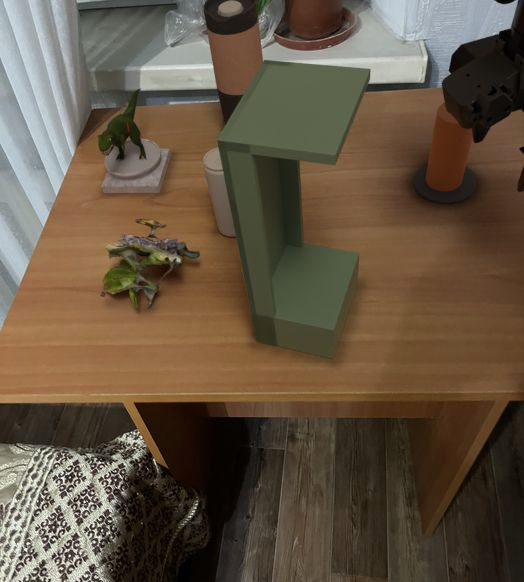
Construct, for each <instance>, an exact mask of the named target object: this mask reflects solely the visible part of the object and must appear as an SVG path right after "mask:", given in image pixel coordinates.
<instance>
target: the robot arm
mask: <svg viewBox="0 0 524 582" xmlns="http://www.w3.org/2000/svg"><path fill="white" fill-rule="evenodd" d="M493 1H494V2H496V3H498V4H500V5H509V4H512V3H514V2H516V0H493ZM448 72H449V73H450V74H448V75H447V76H446V77H444V78H443V79H442V81H441V89H442V95H443V100H444V103H445V107H446V110H447V111H448V113H450V114H451V115H452V116H453V117H454V118H455V119H456V120H457V121H458V123H459V125H460V126H461V127H462V128H464V129H471V128H472V135H473V139H472V143H474V144H479V143H481V142H483V141H484V139H486V136H487V135H488V133H489V131H490V129H491V127H493V126H495V125H496V124H498V123H500V122H501V121H503V120H505V119H506V118H508V117H509V116H510V115H511V114H512V113H514V112H518V111H520V110H521V111H522V112H523V113H524V0H517V4H516V7H515V10H514V14H513V17H512V21H511V24H510V28H507V29H506V28H505V29H503V30H499V32H498V33H497V34H492V35H489V36H485V37H482V38H479V39H475V40H472V41H469V42H463V43H461V44H460V45H459V46H458V47H457V48H456V49H455V50H454V52H452V54H451V57H450V62H449V67H448ZM518 150H519V151H520V152H521V153H522V154H523V155H524V146H520V147H519V148H518ZM516 191H517V192H518V193H523V192H524V165H523V166H522V169H521V173H520V176H519V178H518V181H517V187H516Z"/></svg>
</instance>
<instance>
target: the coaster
mask: <svg viewBox="0 0 524 582" xmlns="http://www.w3.org/2000/svg"><path fill="white" fill-rule="evenodd" d="M427 167H428V163H426V164H424V165H422V166H421V167H420V168H418V170H416V172H415V173H414V175H413V178H412V184H413V188H414V190H415V192H416V193H417V194H418V195H419V196H420V197H421V198H423V199H424V200H426V201H428V202H431V203H436V204H441V205H452V204H458V203H461V202H465V201H467V200H468V199H469V198H471V197H472V196H473V195H474V194H475V192H476V190H477V187H478V179H477V176H476V174H475V173H474V172H473V171H472V170H471V169H470V168H469V167H467V166H466V168H465V172H464V176H463V181H462V184H461V185H460V186H459V187H458V188H457V189H455V190H452V191H447V192H443V191H437V190H434V189H432V188H431V187H429V186H428V185H427V183H426V172H427Z"/></svg>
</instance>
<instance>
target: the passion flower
mask: <svg viewBox="0 0 524 582" xmlns="http://www.w3.org/2000/svg"><path fill="white" fill-rule="evenodd" d="M135 223H136V224H138V225H143V226H147V227H149V228H150V233H149V235H147V236H138V235H137V236H136V235H131V234H129V235H126V234H121V238H119V239H118V240H117V242H120V244H118V243H116V242H114V243H113V244H111V243H107V245H105V250H106V251H107V252H108V258H109V259H113V258H117V257H118V258H120V257H122V259H120V260H119V263H118V265H116V264H114V265H113V266H111V267H110V268H109V270H108V271H107V272H106V273H104V276H103V279H102V285H103V286H102V289H101V291H100V293H99V295H100V297H102V298H105V297H106V292H107V293H109V294H111V295H116V294H119V293H121V292H123V291H127V290H129V297H130V301H131V304H132V306H133V307H134V308H135V309H136V310H140V308H139V303H138V297H137V296H138V292H139V291H140V290H143V292H144V295H145V296H146V297H147V298H148V305H147V309H150V308H151V306H152V302H153V299H154V296H155V295H156V293H157V291H159V289H160V284H162V282H163V281H164V280H165V278H167V276H168V275H169V274H170V273H171V272H172V271H173V270H174V268H177V267H178V266H181V265H183V263H184V258H183V257H187V258H189V259H191V260H197V259H198V258H200V256H201V253H200V250H190V249H189V248H188V247H187V245H186V243H185V241H179V239H178V238H176V239H169V238H163V239H159V238H158V237H157V236H156V230H157V229H158V228H160V229H164V228H166V227H167V226H168V224H167V223H161V222H159V221H157V220H155V219H154V218H153V219H151V218H150V219H147V218H137V219H135ZM178 241H179V242H178ZM121 244H122V245H121ZM138 257H141V258H145V259H143V260H141V262H139V261H138ZM162 265H165V266H167V267H169V266H170V267H169V269H168V270H167V271H166V272H165V273H164V274H163V276H162V277H161V278H160V279H159V280H158V281H157V282H153V281H152V276H151V269H150V266H162ZM146 268H147V269H148V278H145V277H144V276H143V275H142V273H141V272H142V271H143V270H144V269H146ZM140 282H144V283H146V284H148V285H139V284H138V283H140Z"/></svg>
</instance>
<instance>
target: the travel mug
mask: <svg viewBox="0 0 524 582" xmlns="http://www.w3.org/2000/svg"><path fill="white" fill-rule="evenodd" d="M257 3H258V2H257V0H205V2H204V3H203V14H204V15H203V16H204V21H205V26H206V32H207V39H208V43H209V44H208V45H209V50H210V56H211V63H212V69H213V73H214V79H215V86H216V91H217V96H218V99H219V104H220V110H221V114H222V119H223V123H224V126H225V125H226V123H227V122H228V120H229V118H230V117H231V115H232V113H233V112H234V110H235V108H236V107H237V105H238V103H239V102H240V100H241V98H242V97H243V95H244V93H245V91H246V90H247V88H248V86H249V85H250V83H251V81H252V80H253V78H254V76H255V75H256V73H257V71H258V70H259V68H260V66H261V64H262V63H263V61H264V58H263V49H262V48H263V46H262V40H261V31H260V30H261V29H260V21H259V12H258V4H257Z"/></svg>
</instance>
